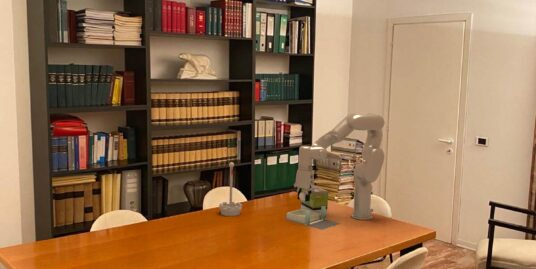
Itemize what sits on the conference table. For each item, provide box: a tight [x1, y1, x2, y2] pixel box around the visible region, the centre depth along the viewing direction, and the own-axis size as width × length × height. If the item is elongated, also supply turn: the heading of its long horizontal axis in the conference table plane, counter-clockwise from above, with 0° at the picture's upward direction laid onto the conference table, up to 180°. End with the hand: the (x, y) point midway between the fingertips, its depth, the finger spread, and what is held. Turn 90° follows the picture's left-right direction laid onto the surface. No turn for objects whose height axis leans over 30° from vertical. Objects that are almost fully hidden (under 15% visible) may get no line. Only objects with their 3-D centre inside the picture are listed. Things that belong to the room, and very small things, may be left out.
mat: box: [284, 217, 341, 231], centre depth 289 cm, size 17×27×1 cm, turn 47°
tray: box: [286, 208, 321, 224], centre depth 292 cm, size 13×13×3 cm
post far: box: [320, 206, 326, 220], centre depth 292 cm, size 2×2×8 cm
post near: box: [304, 210, 310, 226], centre depth 281 cm, size 2×2×8 cm
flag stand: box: [218, 161, 243, 217], centre depth 300 cm, size 13×13×30 cm
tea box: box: [300, 185, 329, 217], centre depth 306 cm, size 15×10×15 cm, turn 25°
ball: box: [299, 191, 306, 201], centre depth 291 cm, size 5×5×5 cm
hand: (303, 199), depth 291 cm, fingers closed on ball, 4 cm apart
